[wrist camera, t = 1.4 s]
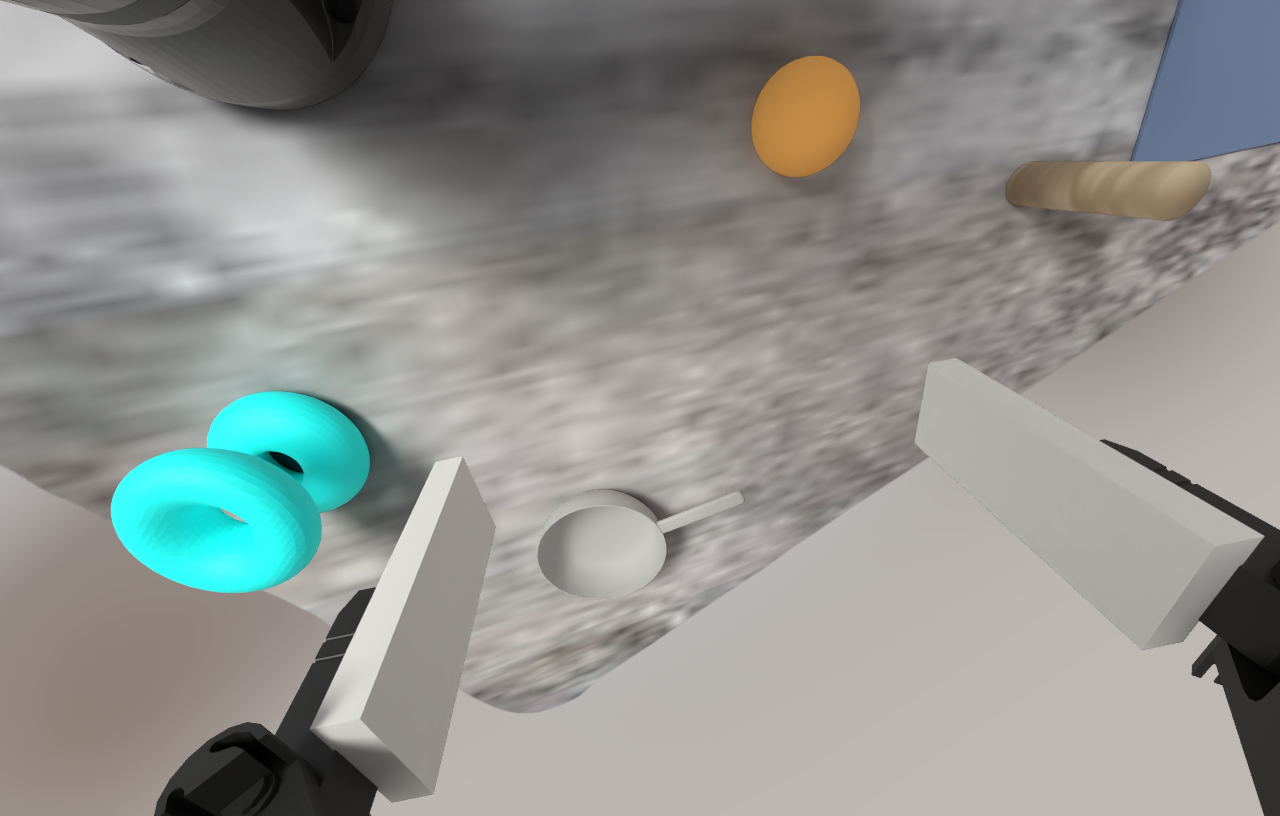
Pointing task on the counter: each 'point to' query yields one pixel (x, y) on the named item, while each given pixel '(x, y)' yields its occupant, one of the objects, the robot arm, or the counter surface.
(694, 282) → the counter surface
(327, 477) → the donuts
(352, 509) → the counter surface
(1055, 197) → the post
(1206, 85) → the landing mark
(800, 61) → the ball
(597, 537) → the saucepan
